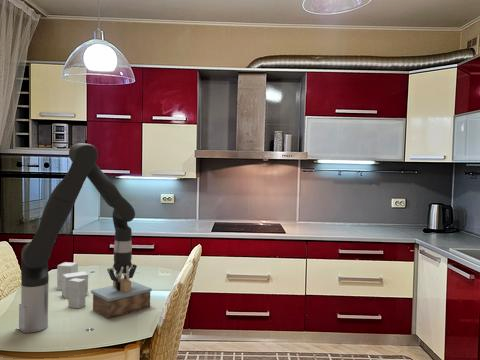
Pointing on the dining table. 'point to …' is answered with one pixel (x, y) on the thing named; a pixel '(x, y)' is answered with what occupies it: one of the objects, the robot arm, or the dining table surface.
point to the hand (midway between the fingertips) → (121, 288)
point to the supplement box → (65, 272)
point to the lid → (121, 290)
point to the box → (121, 305)
